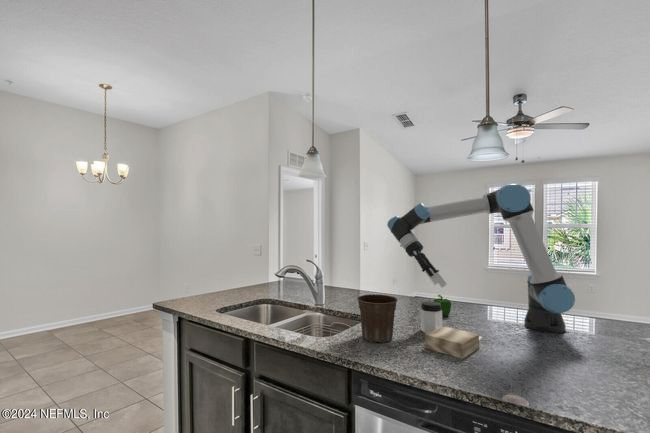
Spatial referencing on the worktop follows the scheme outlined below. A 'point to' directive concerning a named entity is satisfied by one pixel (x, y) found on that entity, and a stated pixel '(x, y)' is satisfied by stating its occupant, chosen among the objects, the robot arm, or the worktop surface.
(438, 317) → the jar
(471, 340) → the maple block
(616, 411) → the worktop surface
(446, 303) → the bell pepper
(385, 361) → the worktop surface
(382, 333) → the plant pot
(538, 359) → the worktop surface
